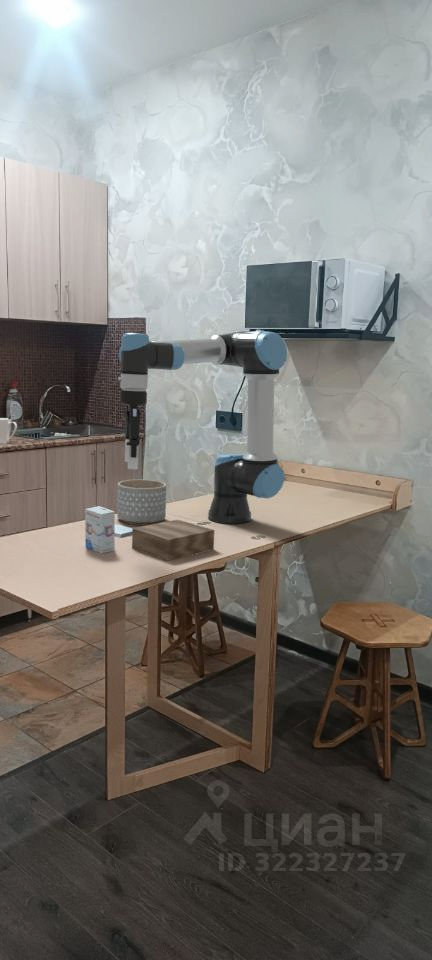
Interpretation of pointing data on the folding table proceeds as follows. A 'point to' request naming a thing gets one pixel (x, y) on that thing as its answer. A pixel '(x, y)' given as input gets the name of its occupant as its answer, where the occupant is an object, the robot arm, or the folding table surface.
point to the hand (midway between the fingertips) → (131, 465)
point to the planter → (141, 501)
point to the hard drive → (122, 531)
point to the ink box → (100, 529)
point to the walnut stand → (172, 539)
